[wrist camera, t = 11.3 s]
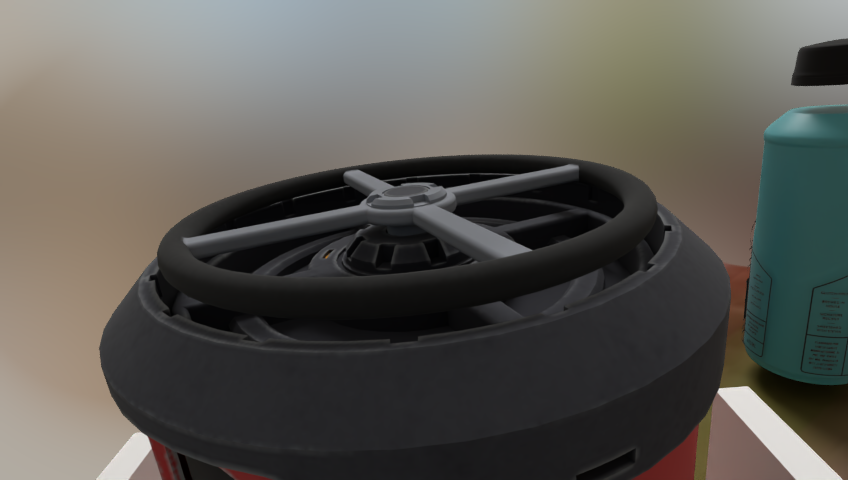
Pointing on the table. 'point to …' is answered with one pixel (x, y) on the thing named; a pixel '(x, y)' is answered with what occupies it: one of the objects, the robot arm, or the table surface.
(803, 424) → the table surface
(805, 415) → the table surface
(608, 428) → the speaker
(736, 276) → the table surface
